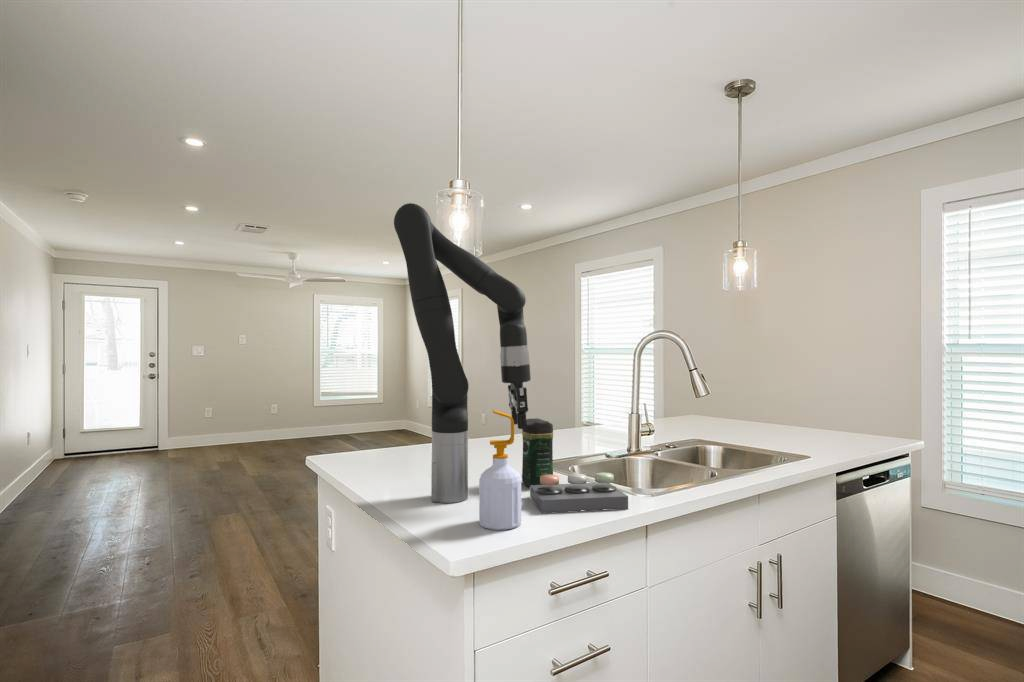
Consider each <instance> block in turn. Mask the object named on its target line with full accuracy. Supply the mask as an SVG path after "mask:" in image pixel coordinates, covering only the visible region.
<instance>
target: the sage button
mask: <svg viewBox="0 0 1024 682" xmlns="http://www.w3.org/2000/svg"><path fill="white" fill-rule="evenodd" d="M614 479H615V478H614V474H613V473H611V472H597V473H596V472H595V473H594V481H595V483H610V484H612V483H614Z"/></svg>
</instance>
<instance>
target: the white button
mask: <svg viewBox="0 0 1024 682" xmlns="http://www.w3.org/2000/svg"><path fill="white" fill-rule="evenodd" d="M585 483H588V481H587V475H586V474H583V473H569V474H568V475H567V484H585Z"/></svg>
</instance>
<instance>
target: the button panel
mask: <svg viewBox="0 0 1024 682" xmlns="http://www.w3.org/2000/svg"><path fill="white" fill-rule="evenodd" d="M529 497H530V499H531V500H532V502H533V503H534V504H535V506H536V508H537V509H538V510H539V512H540V513H541V514H551V513H552V512H558V513H569V512H568V511H578V512H582V511H581V510H598V511H604V510H603V509H619V510H628V509H629V496H628V495H627V494H626V493H624V492H623V491H621V490H620V489H618V488H617V487H616V486H615V485H613V484H612V483H598V482H586V483H585V484H571V483H559V484H558V485H551V486H549V485H530V487H529ZM552 514H553V513H552Z"/></svg>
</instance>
